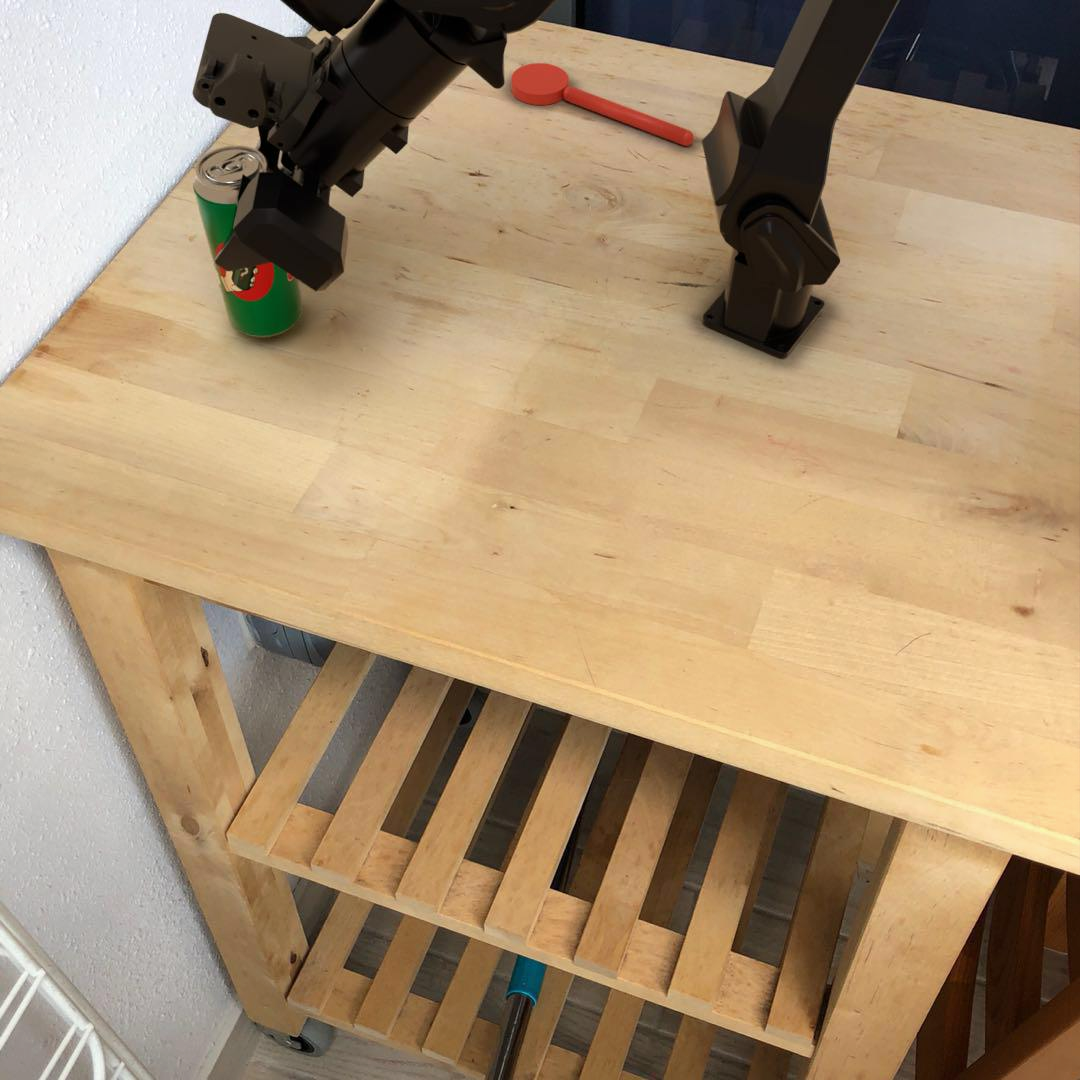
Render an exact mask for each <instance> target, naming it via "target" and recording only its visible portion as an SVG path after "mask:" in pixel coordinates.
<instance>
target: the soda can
mask: <svg viewBox="0 0 1080 1080" xmlns="http://www.w3.org/2000/svg"><path fill="white" fill-rule="evenodd" d="M255 148H256V147H255ZM255 148H254V147H252V146H248V145H242V144H241V145H239V144H234V145H233V144H232V145H225V146H221V147H218V148H215V149H211V150H210V151H208V152H206V153H205V154H203V156H201V157H200V158H199V160H198V161H197V162H196V165H195V168H194V169H195V171H194V172H195V177H194V178H193V182H192V189H193V193H194V196H195V200H196V204H197V208H198V211H199V215H200V218H201V222H202V226H203V230H204V233H205V237H206V240H207V244H208V245H207V246H208V249H209V252H210V255H211V259H212V262H213V263H212V264H213V266H214V270H215V274H216V277H217V281H218V286H219V288H220V292H221V297H222V300H223V303H224V307H225V310H226V311H225V312H226V315H227V319H228V321H229V323H230V325H231V326H232V327H233V328H234V329H236V330H237V331H239V332H240V333H242V334H244V335H246V336H249V337H252V338H253V337H254V338H261V339H263V338H265V339H266V338H273V337H277V336H279V335H282V334H284V333H286V332H287V331H289V330H291V329H292V327H294V326H295V325H296V324H297V322H298V321H299V320H300V318H301V317H302V315H303V311H304V303H303V298H302V293H301V288H300V283H299V280H298V279H296V278H295V277H293V276H292V275H290V274H289V273H287V272H286V271H284V270H283V269H281V268H279V267H278V266H276V265H275V264H273V263H272V262H271V263H266V264H262V265H257V266H253V267H248V268H243V269H239V270H234V271H226V270H224V269H223V268H221V267H219V266H218V265H216V264H215V258H216V256H217V254H218V253H219V251H220V249H221V247H222V246H223V244H224V242H225V241H226V239H227V238H228V236H229V235H230V233H231V231H232V230H233V226H234V221H235V217H236V212H237V198H238V193H239V188H240V183H241V179H242V175H243V174H244V175H245V176H247V177H248V178H249V179H251V180H253V178H254V177H255V176H256V175H257V174H258V173H259V172H275V170H274V169H273V167H272V166H271V165H269V164H268V161H267V159H266V157H265V156H264V154H263V153H262V152H260V151H259V150H257V149H255Z"/></svg>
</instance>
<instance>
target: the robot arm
mask: <svg viewBox="0 0 1080 1080" xmlns="http://www.w3.org/2000/svg"><path fill="white" fill-rule="evenodd" d="M279 1H280V2H281V3H283V5H285V6H286V7H287V8H289V9H290V10H291V11H292V12H294V13H295V14H296V15H297V16H299V17H300V18H301V19H302V20H303V21H305V22H306V23H307V24H309V25H310V26H311V27H312V28H313V29H315V30H316V31H317V32H319V33H320V32H326V33H327V34H328V35H330V37H328V36H323V38H321V40H320V41H318V43H316V42H314V41H313V40H312V39H311V38H309V37H308V36H285V35H283V34H281V33H278V32H275V31H273V30H271V29H268V28H265V27H263V26H260V25H259V24H256V23H253V22H251V21H248V20H246V19H243V18H240V17H238V16H235V15H233V14H230V13H226V12H218V13H215V14H214V15H212V17H211V20H210V24H209V28H208V31H207V35H206V38H205V41H204V45H203V50H202V54H201V57H200V61H199V65H198V69H197V73H196V76H195V81H194V84H193V88H192V96H193V98H194V100H195V101H196V102H197V104H199V105H201V106H202V107H204V108H207V109H209V110H210V112H211V113H212V114H213V116H215V117H218V118H220V119H223V120H226V121H228V122H231V123H234V124H237V125H239V126H243V127H245V128H248V129H255V128H257V131H258V137H259V139H258V142H257V144H256V146H255V149H257V150H259V151H260V152H262V153H263V154H264V156H265V157H266V159H267V161H268V164H269V165H271V166H272V167H273V169H274V170H275V172H259V173H258V174H257V175H256V176H255V177H254V178H253V180H251V179H249V178H248V177H247V176H245V175H244V174H243V175H242V179H241V183H240V188H239V193H238V198H237V212H236V217H235V221H234V226H233V230H232V231H231V233H230V235H229V236H228V238H227V239H226V241H225V242H224V244H223V246H222V247H221V249H220V251H219V253H218V254H217V256H216V258H215V264H216V265H218V266H219V267H221V268H223V269H224V270H226V271H234V270H239V269H243V268H248V267H253V266H257V265H262V264H266V263H271V262H272V263H273V264H275V265H276V266H278V267H279V268H281V269H283V270H284V271H286V272H287V273H289V274H290V275H292V276H293V277H295V278H296V279H298V282H301V283H302V284H304V285H305V286H307V287H308V288H309V289H311V290H313V291H314V292H323V291H325V290H327V289H328V288H329V287H330V286H331V285H332V284H333V283H334V282H335V281H336V280H337V279H339V278H340V277H341V276H342V275H343V274H344V273H345V268H346V267H345V266H346V259H347V257H346V256H347V250H348V249H347V248H348V240H349V231H348V224H347V218H346V216H345V215H343V214H342V213H340V211H338V210H337V209H335V208H334V207H333V206H332V205H331V204H330V198H331V191H332V188H333V187H334V186H335V187H337V188H339V190H341V191H343V192H344V193H345V194H346V195H348V196H349V197H351V198H353V197H355V196H356V195H357V194H358V192H360V191H361V189H363V188H364V187H363V186H364V181H365V179H364V178H365V171H366V168H367V167H368V166H369V165H370V164H371V163H372V162H373V161H374V160H376V159H377V157H378V156H379V155H380V154H381V153H382V152H383V151H384V150H385V149H386V148H387V149H389V150H390V152H393V153H394V154H395V155H397V154H399V152H400V151H402V150H403V149H404V148H405V147H406V145H408V141H409V129H410V128H409V127H410V124H412V123H413V121H415V120H416V119H417V117H418V116H419V115H421V114H422V113H423V111H424V110H426V109H427V107H428V106H430V105H431V104H432V103H433V101H434V100H436V99H437V98H438V97H439V96H440V95H441V94H442V93H443V92H444V91H445V90H446V89H447V88H448V87H449V86H450V85H451V84H452V83H453V82H454V81H455V80H456V79H457V78H458V77H459V76H460V75H461V74H462V73H463V72H464V71H465V70H466V69H467V68H470V69H471V70H472V71H473V72H475V73H476V74H477V75H478V76H479V77H481V78H482V79H483V80H484V81H485V82H486V83H488V84H489V86H490V87H492V88H493V89H496V90H500V89H502V88H503V87H504V86H505V83H506V82H505V81H506V80H505V51H506V47H507V44H508V35H510V34H515V33H518V32H521V31H523V30H525V29H527V28H528V27H530V26H532V25H534V24H536V23H537V22H538V21H539V20H540V19H542V17H543V16H544V15H545V14H546V13H547V12H548V10H549V9H551V7H552V6H553V5H554V4H555V3H556V2H557V0H377V1H376V0H279ZM900 1H901V0H805V1H804V2H803V5H802V6H801V9H800V11H799V13H798V16H797V18H796V20H795V22H794V25H793V26H792V28H791V31H790V33H789V35H788V37H787V39H786V41H785V43H784V45H783V47H782V49H781V53H780V55H779V57H778V58H777V61H776V63H775V65H774V67H773V69H772V72H771V74H770V75H769V77H768V78H767V80H766V81H765V82H764V83H763V84H762V85H761V86H759V87H758V88H756V90H755V91H753V92H752V93H751V94H749V95H748V96H747V97H744V96H742V95H740V94H737V93H735V92H733V91H731V90H729V91H728V90H727V91H726V92H725V94H724V95H723V97H722V101H721V104H720V109H719V113H718V116H717V119H716V122H715V124H714V125H713V127H712V128H711V130H710V131H709V132H708V134H707V135H705V136H704V138H702V139H701V145H702V146H701V147H702V150H703V155H704V159H705V165H706V166H705V167H706V173H707V178H708V182H709V186H710V191H711V196H712V201H713V205H714V210H715V214H716V219H717V224H718V229H719V232H720V235H721V236H722V238H723V240H724V242H725V243H726V244H727V245H729V246H730V247H731V248H732V251H731V256H730V262H729V267H728V268H729V269H728V273H727V279H726V285H725V289H724V290H723V291H722V293H720V295H719V296H718V297H717V298H716V299H715V300H714V302H713V303H712V304H711V305H710V306H709V307H708V308H707V309H706V311H705V312H704V313H703V315H702V319H701V322H702V324H703V325H704V326H706V327H709V328H710V329H712V330H715V331H718V332H720V333H723V334H725V335H727V336H729V337H731V338H734V339H736V340H738V341H740V342H743V343H745V344H747V345H750V346H753V347H755V348H757V349H759V350H761V351H764V352H766V353H769V354H771V355H773V356H776V357H778V358H786V357H788V356H789V354H790V353H791V352H792V351H793V349H794V348H795V347H796V346H797V344H798V343H799V342H800V341H801V339H802V338H803V337H804V335H805V334H806V332H807V331H808V330H809V328H810V327H811V326H812V325H813V323H814V322H815V321H816V320H817V318H818V317H819V316H820V314H821V313H822V312H823V310H824V307H825V301H824V300H823V299H821V298H819V297H816V296H814V295H812V291H813V287H814V286H822V285H825V284H826V283H827V282H828V281H829V280H830V277H831V276H832V275H833V273H834V272H835V270H836V269H837V267H838V266H839V265H840V264H841V258H840V254H839V251H838V248H837V245H836V241H835V239H834V236H833V231H832V229H831V226H830V223H829V219H828V216H827V212H826V209H825V206H824V203H823V200H822V194H823V193H824V192H823V191H824V188H825V185H826V180H827V174H828V169H829V168H828V167H829V161H830V155H831V147H832V141H833V134H834V129H835V126H836V122H837V120H838V118H839V116H840V114H841V112H842V111H843V109H844V107H845V105H846V103H847V102H848V99H849V98H850V96H851V93H852V91H853V90H854V88H855V86H856V84H857V82H858V80H859V79H860V76H861V74H862V73H863V71H864V69H865V67H866V65H867V63H868V62H869V60H870V58H871V55H872V54H873V52H874V50H875V48H876V47H877V44H878V42H879V40H880V39H881V37H882V35H883V33H884V31H885V29H886V27H887V25H888V24H889V22H890V19H891V18H892V16H893V14H894V12H895V10H896V8H897V6H898V5H899V3H900ZM375 2H376V3H375ZM374 3H375V4H374ZM352 27H353V28H352ZM351 28H352V29H351ZM348 29H351V30H350V31H349V32H348V34H347V35H346V36H345V37H344V38H343V39H342V38H340V36H338V34H339V33H340V32H341V31H343V30H348Z"/></svg>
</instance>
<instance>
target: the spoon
mask: <svg viewBox="0 0 1080 1080" xmlns="http://www.w3.org/2000/svg"><path fill="white" fill-rule="evenodd" d="M510 81H511V82H510V84H511V85H510V87H511V89H510V90H511V94H512V95H513V96H514V97H515V98H516V99H517V100H519V101H521V102H522V103H526V104H528V105H533V106H547V105H552V104H556V103H558V102H561V101H562V100H563V99H564V100H565V101H566V102H568V103H570V104H573V105H576V106H579V107H581V108H584V109H586V110H589V111H591V112H594V113H597V114H600V115H603V116H605V117H608V118H610V119H613V120H616V121H618V122H621V123H624V124H626V125H628V126H632V127H634V128H636V129H639V130H642V131H644V132H647V133H650V134H653V135H655V136H658V137H661V138H663V139H666V140H668V141H671V142H674V143H676V144H679V145H681V146H684V147H685V146H686V147H687V146H690V145H692V143H694V138H695V136H694V134H693V133H694V132H692V131H691V130H689V129H686V128H684V127H681V126H678V125H676V124H673V123H671V122H668V121H665V120H662V119H660V118H657V117H655V116H652V115H649V114H647V113H644V112H641V111H639V110H635V109H633V108H630V107H628V106H625V105H622V104H620V103H618V102H614V101H611V100H609V99H606V98H604V97H601V96H598V95H595V94H593V93H590V92H588V91H585V90H582V89H580V88H576V87H574V86H572V85H571V86H570V84H569V81H570V79H569V75H568V73H567V72H566V71H565V70H564V69H562V68H561V67H560V66H557V65H554V64H550V63H545V62H533V63H528V64H525V65H522V66H520V67H518V68H516V69H515V70H514V72H513V73H512V74H511V78H510Z"/></svg>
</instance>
